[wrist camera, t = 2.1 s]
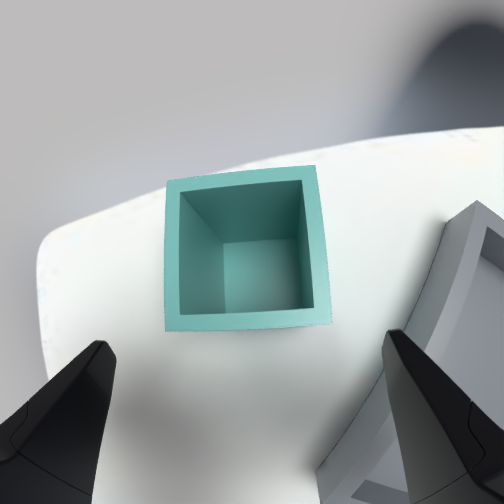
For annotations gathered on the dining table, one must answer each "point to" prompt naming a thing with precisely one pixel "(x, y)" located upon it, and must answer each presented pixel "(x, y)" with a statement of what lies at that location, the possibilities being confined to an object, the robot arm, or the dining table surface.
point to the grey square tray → (433, 358)
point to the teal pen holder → (245, 251)
